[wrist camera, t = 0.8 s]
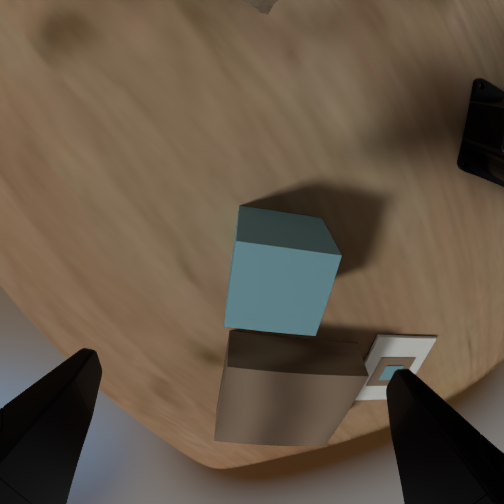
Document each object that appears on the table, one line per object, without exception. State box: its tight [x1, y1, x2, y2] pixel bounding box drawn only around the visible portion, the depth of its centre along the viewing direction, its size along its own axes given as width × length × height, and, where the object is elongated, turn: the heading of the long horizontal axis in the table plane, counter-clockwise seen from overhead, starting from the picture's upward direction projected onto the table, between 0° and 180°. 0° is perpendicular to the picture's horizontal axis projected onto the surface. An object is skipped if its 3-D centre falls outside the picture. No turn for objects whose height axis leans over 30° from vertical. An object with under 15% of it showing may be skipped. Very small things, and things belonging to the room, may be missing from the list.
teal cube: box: [224, 206, 342, 336], centre depth 18 cm, size 5×5×5 cm
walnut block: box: [214, 331, 369, 446], centre depth 24 cm, size 10×10×4 cm
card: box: [355, 334, 437, 400], centre depth 25 cm, size 6×8×1 cm
